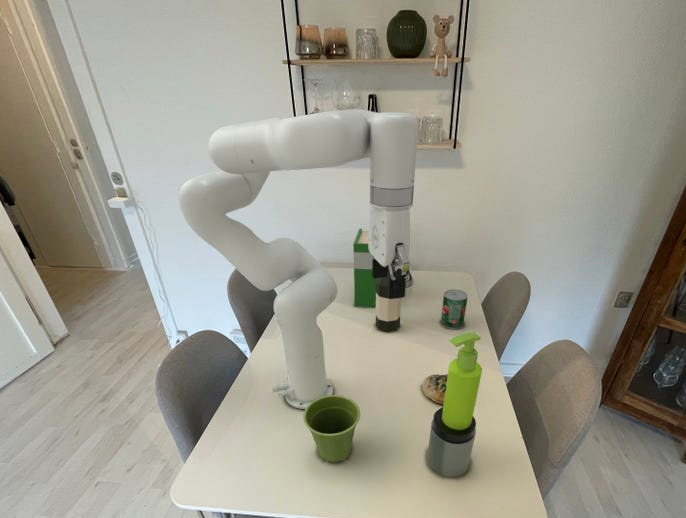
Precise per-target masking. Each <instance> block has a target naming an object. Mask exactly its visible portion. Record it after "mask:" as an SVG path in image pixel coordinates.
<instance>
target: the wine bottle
mask: <svg viewBox="0 0 686 518" xmlns="http://www.w3.org/2000/svg"><path fill="white" fill-rule="evenodd" d="M392 262H396V260H392ZM394 270H395V272H396V270H397V269H396V267H394ZM389 278H391V276H390V271H389V265H388V275H387V277H382V278H378V279H377V280H376V302H375V327H376V328H377V330H378V331H381V332H385V333H392V332H396V331H398V329H399V328H400V327H401V311H402V298H396V299H389V298H388V285H389Z"/></svg>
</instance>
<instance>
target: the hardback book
mask: <svg viewBox="0 0 686 518" xmlns="http://www.w3.org/2000/svg"><path fill="white" fill-rule="evenodd" d="M368 241H369V230H363V228H359V229H358V231H357V234H356V236H355V239H354V241H353V284H354V285H353V286H354V307H359V308H376V280H377V279H378V278H373V277H372V259H375V258H373V257H372V254H371V253H370V252H369V249H368Z"/></svg>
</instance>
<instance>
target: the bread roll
mask: <svg viewBox="0 0 686 518" xmlns="http://www.w3.org/2000/svg"><path fill="white" fill-rule="evenodd" d="M447 378H448V373H446V374H438V373H437V374H431V375H428V376H427V377H425V378H424V380H423V382H422V386H421V387H422V392H423V394H424V396H426V398H428V399H430V400H432V401H433V402H434V403H437V404H440V405H444V399H445V392H446V385H447Z"/></svg>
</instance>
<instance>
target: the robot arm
mask: <svg viewBox="0 0 686 518" xmlns="http://www.w3.org/2000/svg"><path fill="white" fill-rule="evenodd" d="M418 137H419V119H418V118H417V116H416V115H415V114H413V113H411V112H402V111H401V112H400V111H384V112H376V111H371V110H367V109H361V108H351V109H336V110H328V111H327V110H326V111H322V112H315V113H310V114H309V113H308V114H304V115H296V116H291V117H285V118H282V117H279V116H277V117H271V118H266V119H259V120H254V121H253V120H252V121H247V122H240V123H235V124H228V125H225V126H221V127H220V128H218V129H216V130H214V132H213V133H212V134H211V136H210V137H209V139H208V145H207V150H208V155H209V157H210V159H211V161H212V163H213V164H214V165H215V166H216V167H217V168H218V169H219V170H216V171H212V172H207V173H203V174H199V175H197V176H194V177H192V178H190V179H188V180H187V181H185V182H184V183H183V185H182V186H181V187H180V188H179V192H178V204H179V207H180V211H181V213H182V215H183V218H184V220H185V221H186V223H187V225H188V226H189V227H190V229H191V230H192V231H193V232H194V233H195V234H196V235H197V236H198V237H199V238H201V240H203V241H204V242H206V243H207V244H208V245H209V246H211V247H212V248H213V249H215V250H216V251H217V252H219V253H220V255H222V256H223V257H224V258H225V259H226V260H227V261H228V262H229V263H230V264H231V265H232V266H233V267H234V268H235V269H236V270H237V271H238V272H239V273H240V274H241V275H242V276H243V277H244V278H245V279H246V280H247V281H248V282H249V283H250V284H252V286H254V287H255V288H256V289H258V290H259V291H263V292H268V291H272V290H274V289H276V288H277V287H280V286H282V284H284V283H285V282H287V281H291V282H290V283H289V284H287V285H286V286H284V287H283V288H282V289H281V290H280V291H279V292H278V294H277V295H276V296H275V298H274V301H273V312H274V315H275V318H276V320H277V322H278V325H279V328H280V329H279V330H280V333H281V337H282V344H283V349H284V355H285V363H286V369H287V375H288V377H286V381H283V383H280V384H279V383H277V384H273V385H272V384H271V390H272V393H274V394H275V393H277V396H278V398H280V397H284V396H285V400H286V402H287V403H288V404H289V405H290V406H292V407H293V408H296V409H300V410H305V409H306V408H307V406H308V405H309V404H310V403H311V402H313V401H314V400H316V399H318V398H320V397H324V396H328V395H334V387H333V384H332V383H331V382H330V380H328V379H327V374H326V357H325V346H324V337H323V332H322V329H321V328H320V326H319V325H318V323H317V318H318V317H319V315H321V314H322V313H323V311H325V310H326V309H327V308H329V306H330V305H332V304H333V302H334V301H335V300H336V298H337V295H338V285H337V283H336V280H335V279H334V278H333V276H332V275H331V274H330V272H329V271H328V270H326V268H325V267H324V266H323V265H322V264H321V263H319V261H318V260H317V259H316V258H315V257H314V256H313V255H312V254H311V253H310V252H309V251H308V250H307V249H306V248H305V247H304V246H303V245H302V244H300V243H299V242H298V241H295V240H294V239H292V238H289V237H279V238H276V239H273V240H271V241H269V242H265V241H264V240H262V238H260V237H259V236H258V235H257V234H256V233H254V231H253V230H252V229H251V228H249V227H248V226H246V225H245V224H244V223H242V222H240V221H238V220H236V219H234V218H231V217H229V216H227V214H229V213H232V212H234V211H238V210H240V209H244V208H246V207H248V206H250V205H252V203H253V202H254V201H255V200H256V199H257V198H258V196H259V194H260V192H261V190H262V188H263V186H264V184H265V183H266V181H267V180H268V177H269V176H270V174H271V172H281V171H287V172H289V171H297V170H298V171H300V170H311V169H312V170H314V169H324V168H335V167H338V166H343V165H345V164H348V163H352V162H355V161H360V160H363V159H368V158H369V206H370V212H369V213H370V214H369V223H368V225H369V226H368V231H369V241H368V249H369V252H370V253H371V254H372V257H373V258H375V259H372V277H373V278H382V277H387V275H388V265H389V271H390V276H391V278H389V285H388V298H389V299H396V298H401V299H403V298H405V297H406V290H407V289H406V288H407V279H408V275H409V269H410V266H411V261H410V259H409V258H410V257H409V256H410V245H411V244H410V243H411V210H410V209H411V208H412V207H413V205H414V194H415V193H414V192H415V179H416V178H415V177H416V164H417V151H418ZM392 260H395V262H392ZM394 267H395V268H396V269H395V270H396V272H395V270H394ZM397 267H399V268H397Z"/></svg>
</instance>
